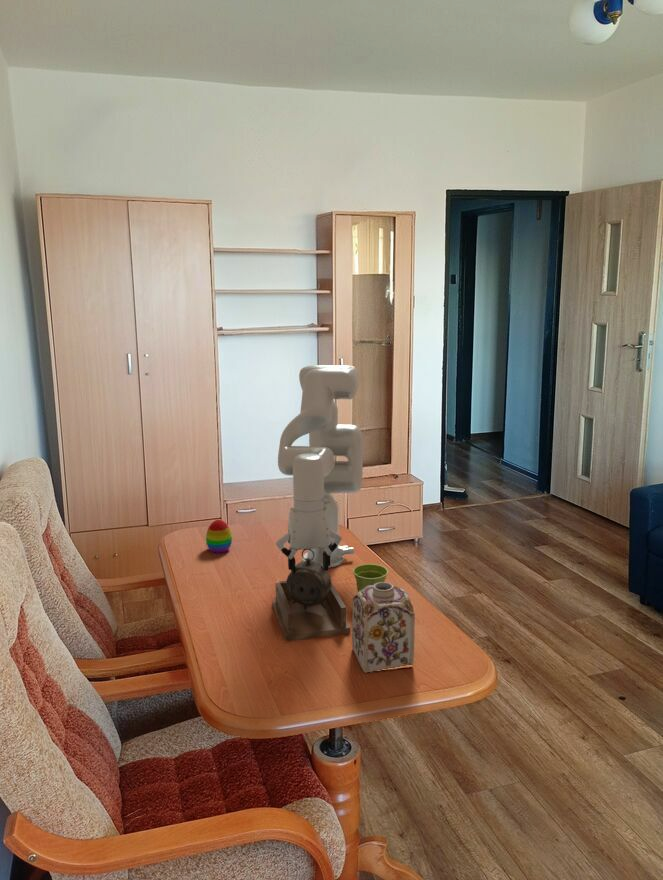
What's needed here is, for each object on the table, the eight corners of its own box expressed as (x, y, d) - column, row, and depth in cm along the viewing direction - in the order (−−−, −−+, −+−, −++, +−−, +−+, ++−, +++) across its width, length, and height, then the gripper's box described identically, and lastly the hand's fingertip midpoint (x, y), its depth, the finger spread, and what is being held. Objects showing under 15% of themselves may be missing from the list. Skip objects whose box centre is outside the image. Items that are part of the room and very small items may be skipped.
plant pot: (394, 603, 192) (395, 573, 190) (365, 611, 187) (365, 580, 185) (374, 590, 200) (375, 561, 198) (346, 598, 195) (346, 568, 193)
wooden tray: (330, 598, 195) (330, 576, 194) (350, 633, 176) (350, 608, 175) (272, 604, 191) (271, 582, 190) (285, 641, 172) (285, 616, 171)
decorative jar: (414, 669, 160) (416, 594, 156) (364, 675, 158) (364, 599, 154) (398, 642, 172) (400, 572, 168) (351, 648, 169) (351, 577, 165)
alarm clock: (332, 606, 184) (331, 547, 180) (325, 616, 179) (324, 555, 175) (292, 600, 188) (291, 542, 184) (284, 609, 183) (283, 549, 179)
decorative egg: (211, 544, 234) (210, 515, 232) (235, 546, 233) (234, 516, 231) (202, 553, 226) (201, 523, 224) (227, 555, 225) (226, 525, 223)
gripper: (339, 496, 182) (339, 561, 187) (271, 501, 178) (272, 567, 182) (346, 505, 175) (346, 572, 179) (276, 511, 171) (277, 579, 175)
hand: (309, 569), depth 181 cm, fingers closed on alarm clock, 7 cm apart
